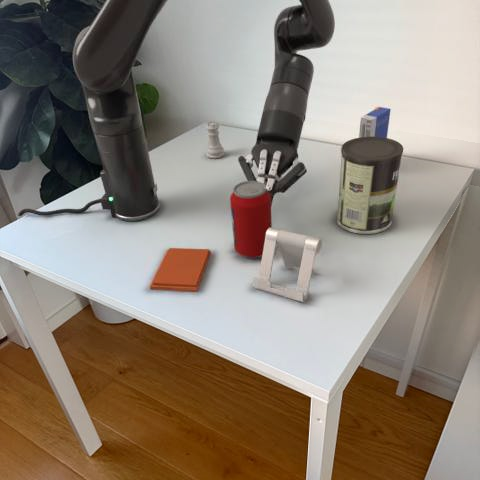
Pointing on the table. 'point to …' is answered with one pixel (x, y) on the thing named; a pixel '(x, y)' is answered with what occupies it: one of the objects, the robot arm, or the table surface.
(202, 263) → the folded cloth
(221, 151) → the rook chess piece
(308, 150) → the table surface
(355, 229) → the coffee can
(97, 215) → the table surface
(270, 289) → the tablet stand
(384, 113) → the walkman
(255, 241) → the beverage can
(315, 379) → the table surface
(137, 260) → the table surface
